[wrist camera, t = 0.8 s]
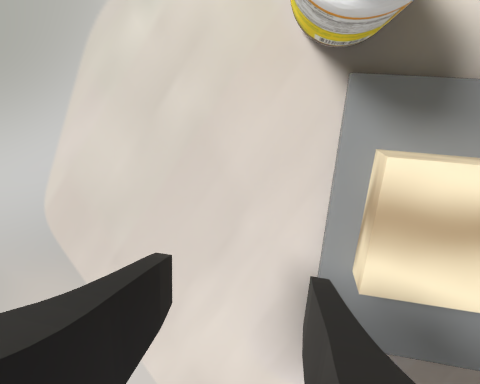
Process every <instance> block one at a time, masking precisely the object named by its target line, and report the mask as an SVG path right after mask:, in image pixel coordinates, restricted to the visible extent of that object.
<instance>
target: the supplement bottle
mask: <svg viewBox="0 0 480 384" xmlns="http://www.w3.org/2000/svg"><path fill="white" fill-rule="evenodd" d="M412 1H414V0H291V6H292V10H293V14H294V16H295V19H296V21H297V23H298V25H299V26H300V28H301V29H302V30H303V31H304V33H305V34H306V35H307V36H308V37H310V38H311V39H312V40H314V41H316V42H318V43H320V44H322V45H325V46H330V47H347V46H351V45H355V44H358V43H360V42H362V41H364V40H366V39H368V38H369V37H371V36H372V35H374V34H375V33H376V32H378V31H379V30H380V29H381V28H382V27H384V26H385V25H386V24H387V23H388V22H389V21H391V20H392V19H393V18H394V17H395V16H396V15H398V14H399V13H400V12H401V11H402V10H403V9H404V8H406V7H407V6H408V5H409V4H410V3H411V2H412Z"/></svg>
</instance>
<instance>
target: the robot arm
mask: <svg viewBox="0 0 480 384" xmlns="http://www.w3.org/2000/svg"><path fill="white" fill-rule="evenodd" d="M171 304H172V255H168V254H161V253H154V254H151V255H149V256H147V257H145V258H142V259H140V260H138V261H136V262H134V263H132V264H130V265H128V266H126V267H124V268H122V269H120V270H117V271H115V272H113V273H111V274H109V275H107V276H105V277H102V278H100V279H98V280H96V281H93V282H91V283H89V284H86V285H84V286H82V287H80V288H77V289H74V290H72V291H69V292H67V293H64V294H62V295H59V296H56V297H53V298H50V299H47V300H44V301H41V302H38V303H34V304H31V305H27V306H24V307H20V308H17V309H13V310H10V311H6V312H3V313H0V384H126V383H127V381H128V380H129V378H130V376H131V375H132V373H133V372H134V370H135V369H136V367H137V365H138V364H139V362H140V361H141V359H142V357H143V356H144V354H145V353H146V351H147V350H148V348H149V346H150V345H151V343H152V341H153V340H154V338H155V337H156V335H157V333H158V332H159V330H160V328H161V326H162V324H163V322H164V320H165V318H166V316H167V314H168V311H169V309H170V307H171ZM302 357H303V369H304V381H305V384H415V383H414V382H413V381H412V380H411V379H410V378H409V377H408V376H407V375H406V374H405V373H404V372H403V371H402V370H401V369H400V368H399V367H398V366H397V365H396V364H395V363H394V362H393V361H392V360H391V359H390V358H389V357H388V356H387V355H386V354H385V353H384V352H383V351H382V350H381V348H380V347H379V346H378V345H377V344H376V343H375V342H374V340H373V339H372V338H371V337H370V336H369V334H368V333H367V332H366V331H365V329H364V328H363V327H362V326H361V324H360V323H359V322H358V320H357V319H356V318H355V316H354V315H353V314H352V312H351V311H350V309H349V308H348V307H347V305H346V304H345V302H344V301H343V299H342V298H341V296H340V295H339V293H338V291H337V290H336V288H335V287H334V285H333V284H332V282H331V281H330V280H329V279H325V278H318V277H312V276H311V277H310V284H309V291H308V297H307V304H306V311H305V317H304V324H303V350H302Z"/></svg>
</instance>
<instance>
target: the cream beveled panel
mask: <svg viewBox="0 0 480 384" xmlns="http://www.w3.org/2000/svg"><path fill="white" fill-rule="evenodd" d="M352 272H353V275H354V279H355V282H356V285H357V289H358V292H359V294H362V295H368V296H375V297H381V298H387V299H394V300H400V301H406V302H413V303H419V304H425V305H432V306H438V307H444V308H451V309H457V310H463V311H470V312H476V313H480V158H474V157H462V156H451V155H439V154H427V153H416V152H404V151H392V150H381V149H376V152H375V157H374V162H373V167H372V172H371V177H370V183H369V188H368V193H367V198H366V203H365V208H364V213H363V219H362V224H361V229H360V234H359V239H358V244H357V249H356V254H355V260H354V265H353V270H352Z"/></svg>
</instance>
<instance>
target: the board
mask: <svg viewBox="0 0 480 384" xmlns="http://www.w3.org/2000/svg"><path fill="white" fill-rule="evenodd" d="M376 149H381V150H392V151H404V152H416V153H427V154H439V155H451V156H462V157H474V158H480V79H469V78H449V77H429V76H408V75H388V74H368V73H350V74H349V80H348V86H347V93H346V99H345V105H344V112H343V118H342V124H341V131H340V137H339V143H338V150H337V156H336V163H335V169H334V175H333V182H332V188H331V194H330V201H329V207H328V214H327V220H326V226H325V233H324V239H323V245H322V252H321V258H320V264H319V271H318V278H325V279H329V280H330V281H331V282H332V284H333V285H334V287H335V288H336V290H337V291H338V293H339V295H340V296H341V298H342V299H343V301H344V302H345V304H346V305H347V307H348V308H349V309H350V311H351V312H352V314H353V315H354V316H355V318H356V319H357V320H358V322H359V323H360V324H361V326H362V327H363V328H364V329H365V331H366V332H367V333H368V334H369V336H370V337H371V338H372V339H373V340H374V342H375V343H376V344H377V345H378V346H379V347H380V348H381V350H382V351H383V352H384V353H385V354H390V355H396V356H401V357H407V358H412V359H417V360H423V361H428V362H434V363H439V364H444V365H450V366H455V367H461V368H466V369H472V370H477V371H480V313H476V312H470V311H463V310H457V309H451V308H444V307H438V306H432V305H425V304H419V303H413V302H406V301H400V300H394V299H387V298H381V297H375V296H368V295H362V294H359V292H358V289H357V285H356V282H355V279H354V275H353V272H352V270H353V265H354V260H355V254H356V249H357V244H358V239H359V234H360V229H361V224H362V219H363V213H364V208H365V203H366V198H367V193H368V188H369V183H370V177H371V172H372V167H373V162H374V157H375V152H376Z"/></svg>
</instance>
